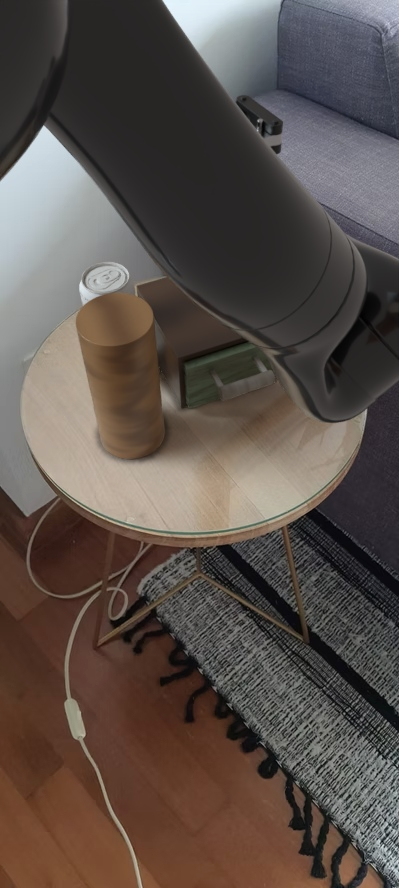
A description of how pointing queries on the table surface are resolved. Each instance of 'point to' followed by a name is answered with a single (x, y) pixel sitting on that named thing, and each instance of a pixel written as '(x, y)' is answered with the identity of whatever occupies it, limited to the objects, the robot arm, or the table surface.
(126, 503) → the table surface
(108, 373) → the stand
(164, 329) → the cabinet
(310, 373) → the robot arm
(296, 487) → the table surface
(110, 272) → the beer can
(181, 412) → the table surface
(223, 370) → the drawer
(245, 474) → the table surface
